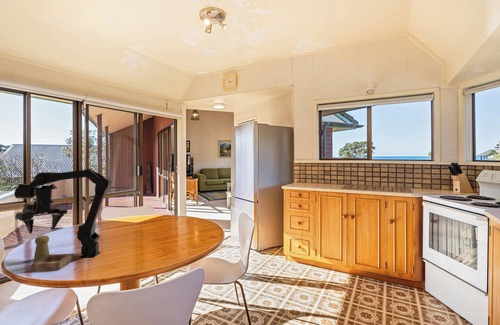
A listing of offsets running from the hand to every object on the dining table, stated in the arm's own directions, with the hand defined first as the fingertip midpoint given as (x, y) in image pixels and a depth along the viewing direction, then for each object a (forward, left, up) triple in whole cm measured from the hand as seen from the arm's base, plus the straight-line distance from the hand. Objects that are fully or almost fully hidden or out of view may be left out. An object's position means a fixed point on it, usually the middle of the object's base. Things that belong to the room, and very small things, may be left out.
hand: (42, 231), depth 117 cm
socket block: (-10, +8, -13) cm, 19 cm away
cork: (0, 0, -14) cm, 14 cm away
